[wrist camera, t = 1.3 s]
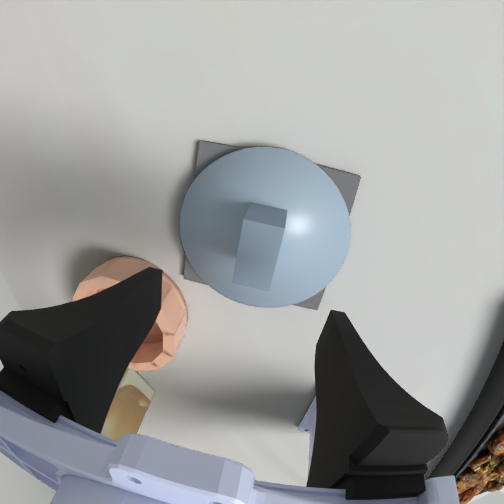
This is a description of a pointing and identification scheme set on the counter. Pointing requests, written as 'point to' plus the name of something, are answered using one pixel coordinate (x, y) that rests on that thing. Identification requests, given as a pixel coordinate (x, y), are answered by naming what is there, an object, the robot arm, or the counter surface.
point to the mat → (342, 179)
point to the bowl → (169, 318)
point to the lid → (265, 227)
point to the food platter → (479, 442)
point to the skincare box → (128, 406)
